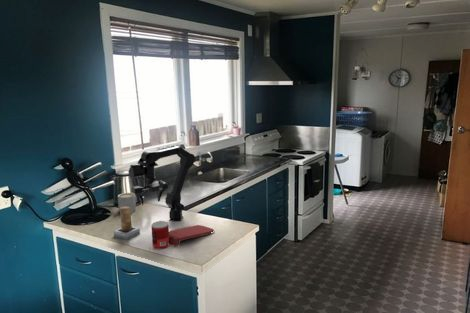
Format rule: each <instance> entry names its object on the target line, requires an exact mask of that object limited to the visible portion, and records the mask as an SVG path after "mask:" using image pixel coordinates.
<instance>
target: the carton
mask: <svg viewBox="0 0 470 313" xmlns="http://www.w3.org/2000/svg"><path fill="white" fill-rule="evenodd" d="M213 231H214V232H215V230H214V228H211V227H208V226H205V225H200V224H196V225H191V226H190V225H189V226H186V227H181V228H176V229H170V230H169V245H171V246H173V245H174V247H179V246H180V243H181V242H180V241H185V240H189V239H194V238H198V237H202V236H207V235H210V234H209V233H211V232H213ZM178 245H179V246H178Z"/></svg>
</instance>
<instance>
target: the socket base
mask: <svg viewBox="0 0 470 313" xmlns="http://www.w3.org/2000/svg"><path fill="white" fill-rule="evenodd" d="M140 231H141V230H140V227H136V226H132V231H130V232H127V233H125V232H122V228H121V227H118V229H115V230H113V237H114V238H119V239H120V240H121V239H122V240H126V241H127V240H130V239H132V238H134V237H136V236H138V235H140V234H141V232H140Z"/></svg>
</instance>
